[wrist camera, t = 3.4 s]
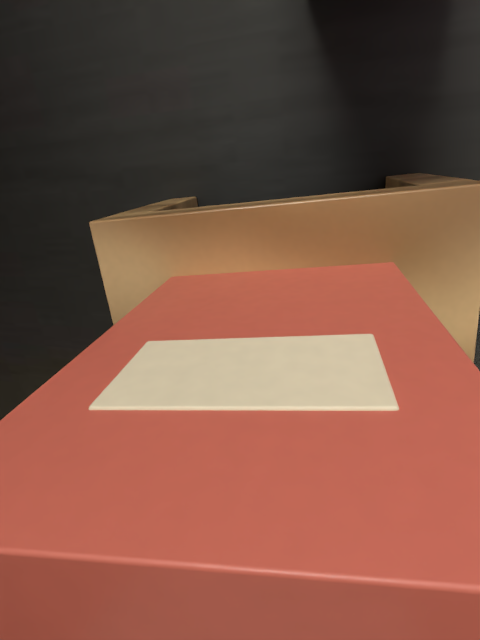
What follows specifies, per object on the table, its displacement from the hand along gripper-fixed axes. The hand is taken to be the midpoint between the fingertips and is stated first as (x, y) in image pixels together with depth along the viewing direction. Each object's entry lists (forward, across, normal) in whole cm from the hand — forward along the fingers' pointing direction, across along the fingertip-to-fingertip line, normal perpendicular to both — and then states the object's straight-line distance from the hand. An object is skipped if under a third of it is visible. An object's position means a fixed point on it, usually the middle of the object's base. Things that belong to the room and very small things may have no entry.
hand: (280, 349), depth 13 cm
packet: (+1, 0, 0) cm, 1 cm away
